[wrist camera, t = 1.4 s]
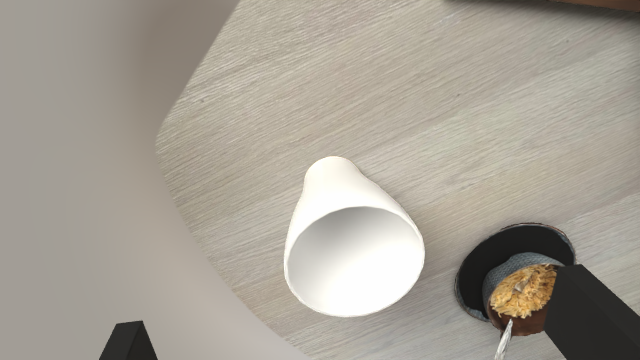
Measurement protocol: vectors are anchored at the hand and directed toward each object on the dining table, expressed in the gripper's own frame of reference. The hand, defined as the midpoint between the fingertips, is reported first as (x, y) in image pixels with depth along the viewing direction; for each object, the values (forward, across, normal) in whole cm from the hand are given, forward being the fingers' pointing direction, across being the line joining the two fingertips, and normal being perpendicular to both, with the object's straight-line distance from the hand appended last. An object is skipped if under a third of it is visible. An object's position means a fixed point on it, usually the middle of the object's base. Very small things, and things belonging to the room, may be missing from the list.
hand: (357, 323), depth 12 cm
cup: (+27, +2, -8) cm, 28 cm away
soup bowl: (+27, +23, -24) cm, 43 cm away
